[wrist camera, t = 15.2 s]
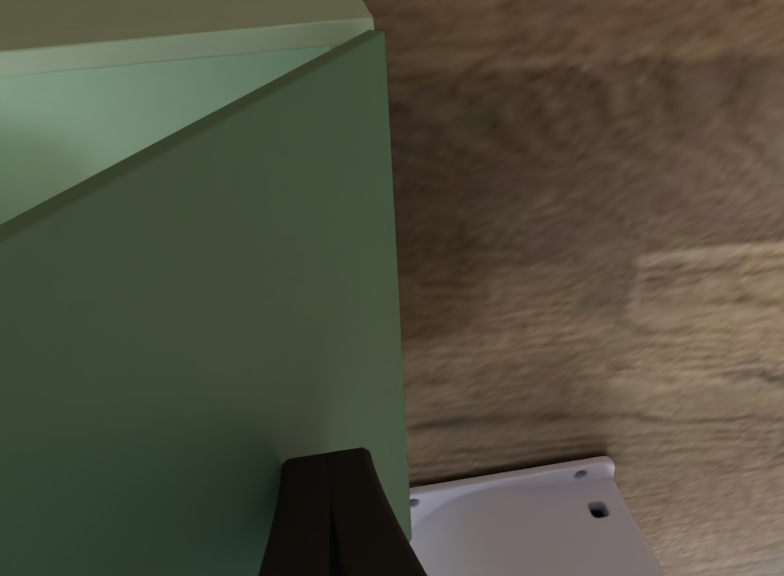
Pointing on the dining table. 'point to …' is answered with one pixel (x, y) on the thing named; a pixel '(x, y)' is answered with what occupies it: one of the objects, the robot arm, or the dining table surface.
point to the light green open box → (137, 76)
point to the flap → (204, 332)
